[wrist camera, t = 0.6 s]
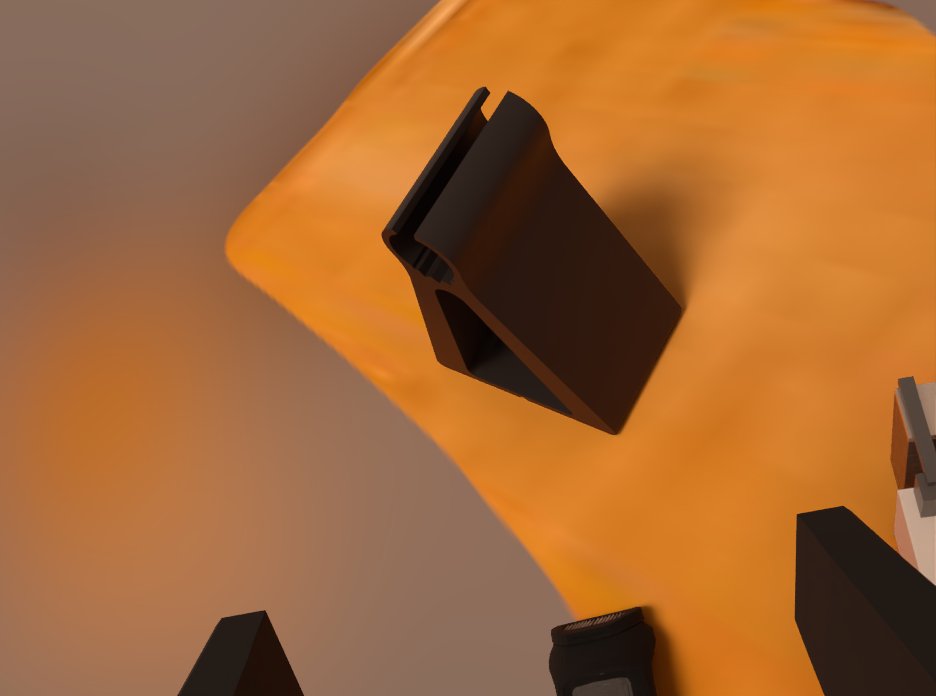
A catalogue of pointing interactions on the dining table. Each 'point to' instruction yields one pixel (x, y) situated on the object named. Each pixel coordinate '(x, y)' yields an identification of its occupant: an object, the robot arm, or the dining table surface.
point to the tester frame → (910, 436)
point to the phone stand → (528, 270)
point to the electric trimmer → (604, 656)
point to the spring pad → (918, 492)
